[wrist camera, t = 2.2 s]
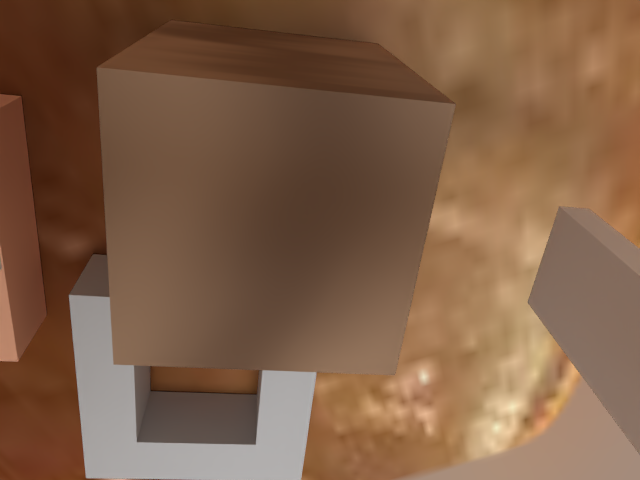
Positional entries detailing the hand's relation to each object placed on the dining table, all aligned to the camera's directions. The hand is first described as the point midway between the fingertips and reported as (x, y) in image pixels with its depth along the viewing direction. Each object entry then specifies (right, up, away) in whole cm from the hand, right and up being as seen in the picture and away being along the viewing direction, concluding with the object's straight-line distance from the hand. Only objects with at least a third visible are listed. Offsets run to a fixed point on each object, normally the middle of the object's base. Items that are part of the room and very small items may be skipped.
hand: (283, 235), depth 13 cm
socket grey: (-4, -5, +11) cm, 13 cm away
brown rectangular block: (-1, +4, +7) cm, 8 cm away
